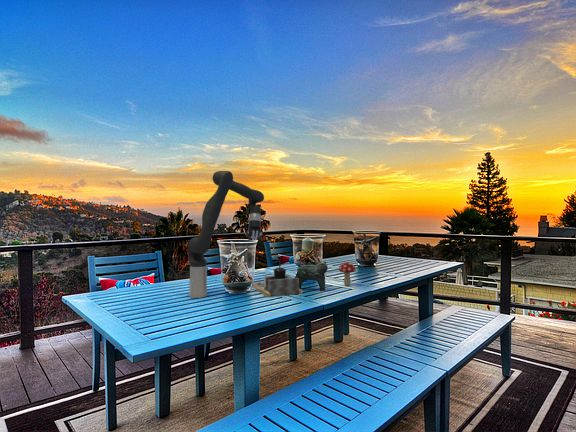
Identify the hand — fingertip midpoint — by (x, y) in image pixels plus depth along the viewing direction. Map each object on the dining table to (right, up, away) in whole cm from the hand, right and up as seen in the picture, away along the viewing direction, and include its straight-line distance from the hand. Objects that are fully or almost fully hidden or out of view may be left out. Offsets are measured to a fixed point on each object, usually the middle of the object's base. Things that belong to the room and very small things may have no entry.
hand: (253, 247), depth 217 cm
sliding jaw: (+15, -25, -10) cm, 31 cm away
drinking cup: (+17, -26, -14) cm, 34 cm away
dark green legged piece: (+36, -26, -8) cm, 45 cm away
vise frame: (+14, -25, -7) cm, 30 cm away
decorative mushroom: (+60, -26, +5) cm, 66 cm away
